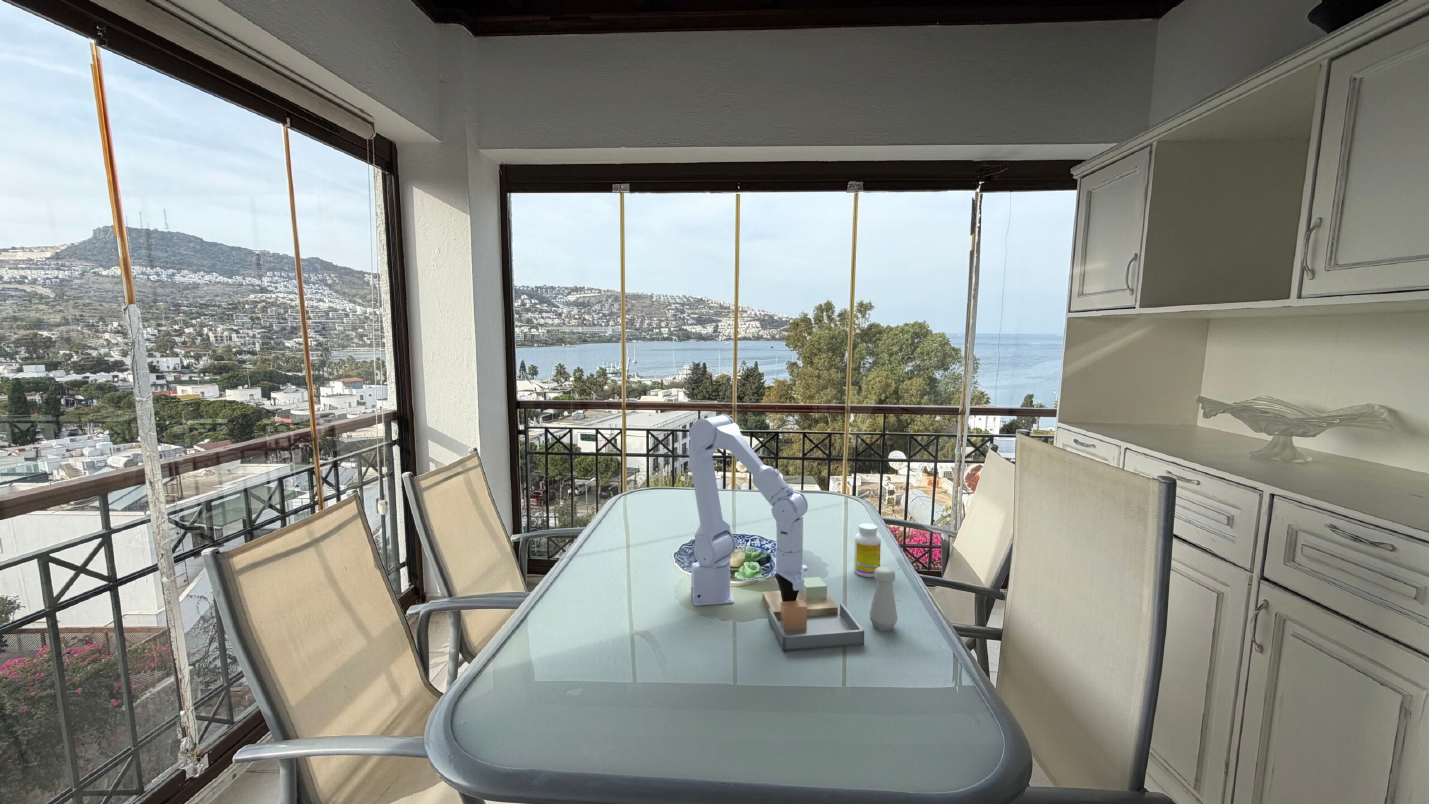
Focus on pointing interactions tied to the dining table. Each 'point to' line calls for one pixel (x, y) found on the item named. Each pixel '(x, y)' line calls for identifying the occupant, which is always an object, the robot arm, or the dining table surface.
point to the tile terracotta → (793, 615)
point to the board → (813, 606)
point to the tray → (820, 632)
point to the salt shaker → (883, 600)
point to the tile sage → (814, 588)
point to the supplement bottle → (867, 550)
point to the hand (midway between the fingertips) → (788, 607)
